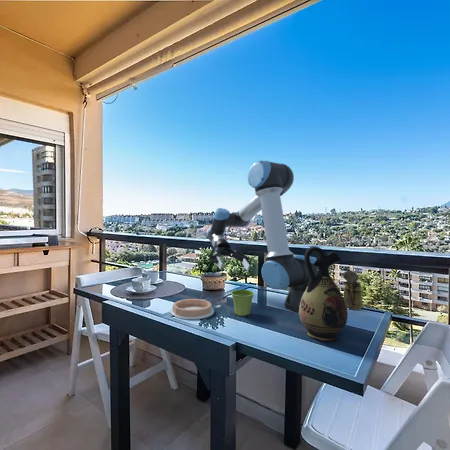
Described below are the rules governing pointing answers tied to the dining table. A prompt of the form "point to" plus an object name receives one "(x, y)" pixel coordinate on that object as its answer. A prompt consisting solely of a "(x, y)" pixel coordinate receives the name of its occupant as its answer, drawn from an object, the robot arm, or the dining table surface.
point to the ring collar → (192, 309)
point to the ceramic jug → (322, 299)
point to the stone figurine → (352, 291)
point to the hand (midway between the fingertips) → (235, 267)
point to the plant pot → (242, 301)
